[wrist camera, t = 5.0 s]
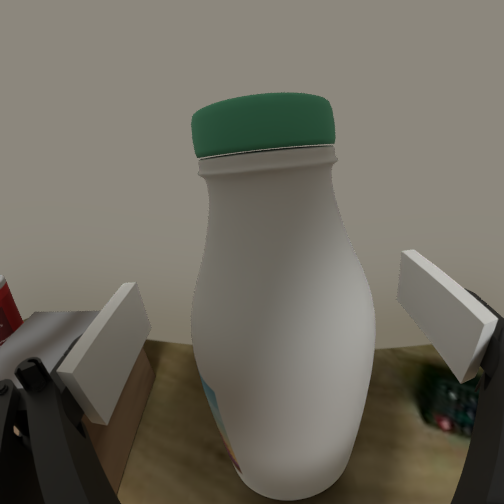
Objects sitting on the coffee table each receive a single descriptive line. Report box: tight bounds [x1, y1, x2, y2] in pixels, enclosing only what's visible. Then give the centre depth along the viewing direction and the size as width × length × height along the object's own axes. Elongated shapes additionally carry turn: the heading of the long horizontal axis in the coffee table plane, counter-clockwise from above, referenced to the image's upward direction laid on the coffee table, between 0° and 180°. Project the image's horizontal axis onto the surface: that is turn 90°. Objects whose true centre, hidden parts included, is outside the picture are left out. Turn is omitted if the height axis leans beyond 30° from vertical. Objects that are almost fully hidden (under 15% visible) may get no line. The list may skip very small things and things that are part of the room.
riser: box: [0, 311, 156, 495], centre depth 17 cm, size 12×14×8 cm
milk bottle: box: [191, 93, 376, 500], centre depth 12 cm, size 8×8×20 cm
